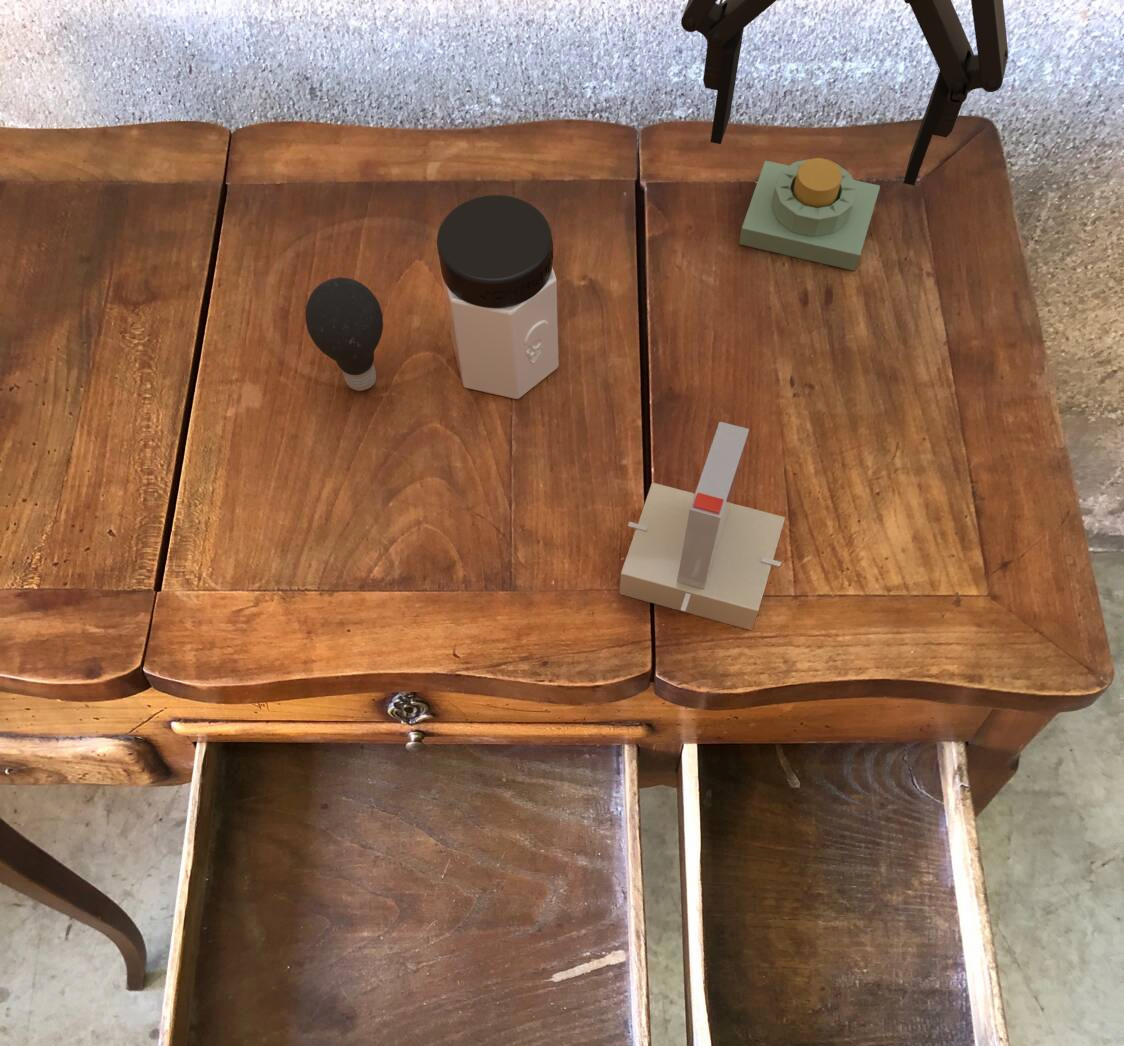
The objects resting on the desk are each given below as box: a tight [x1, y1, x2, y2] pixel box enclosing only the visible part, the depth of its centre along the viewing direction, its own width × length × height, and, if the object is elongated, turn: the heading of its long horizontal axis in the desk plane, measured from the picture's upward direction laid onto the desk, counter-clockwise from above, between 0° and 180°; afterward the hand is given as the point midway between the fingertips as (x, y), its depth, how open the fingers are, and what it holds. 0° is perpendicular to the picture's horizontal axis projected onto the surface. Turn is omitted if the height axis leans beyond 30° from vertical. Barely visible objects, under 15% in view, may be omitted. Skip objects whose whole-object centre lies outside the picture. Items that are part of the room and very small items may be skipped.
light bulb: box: [304, 276, 384, 391], centre depth 79 cm, size 6×6×10 cm
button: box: [793, 157, 842, 208], centre depth 85 cm, size 4×4×2 cm
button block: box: [738, 158, 881, 272], centre depth 87 cm, size 10×8×4 cm
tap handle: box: [677, 421, 750, 589], centre depth 70 cm, size 7×2×9 cm, turn 162°
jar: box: [436, 194, 560, 400], centre depth 79 cm, size 9×8×12 cm
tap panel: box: [618, 482, 786, 631], centre depth 76 cm, size 11×11×3 cm
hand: (815, 150), depth 73 cm, fingers open, 13 cm apart
